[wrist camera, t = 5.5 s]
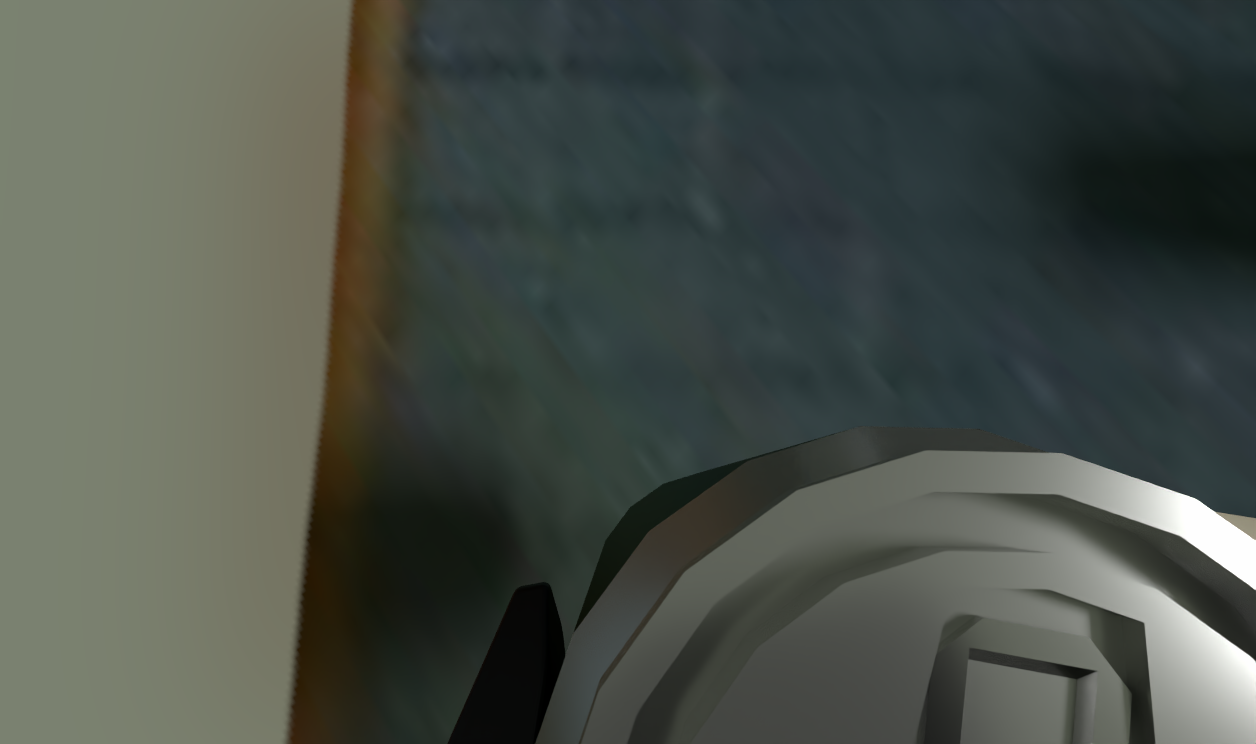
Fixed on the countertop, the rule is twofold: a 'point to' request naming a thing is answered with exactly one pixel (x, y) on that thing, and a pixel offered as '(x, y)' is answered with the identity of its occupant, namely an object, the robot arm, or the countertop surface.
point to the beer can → (914, 604)
